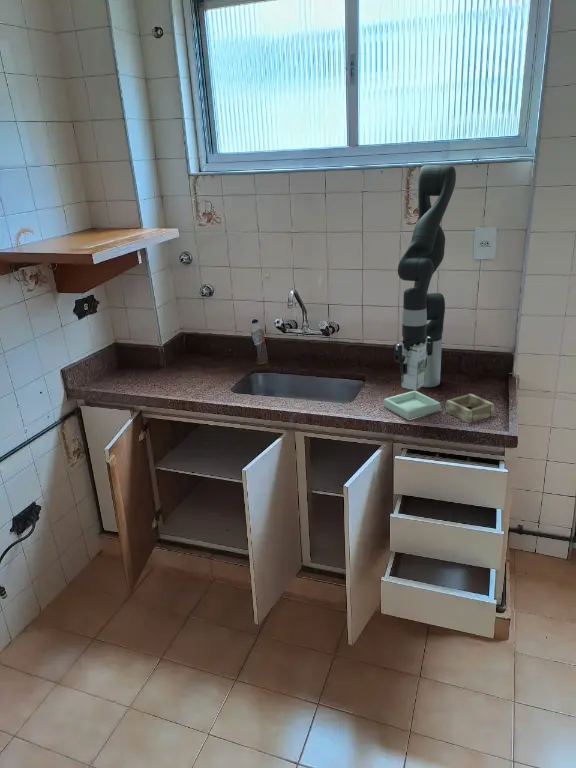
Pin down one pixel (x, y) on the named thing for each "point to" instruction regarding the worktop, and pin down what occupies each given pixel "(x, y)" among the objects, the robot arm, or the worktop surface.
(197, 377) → the worktop surface
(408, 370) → the syrup box
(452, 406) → the collar
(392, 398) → the tray
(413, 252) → the robot arm
